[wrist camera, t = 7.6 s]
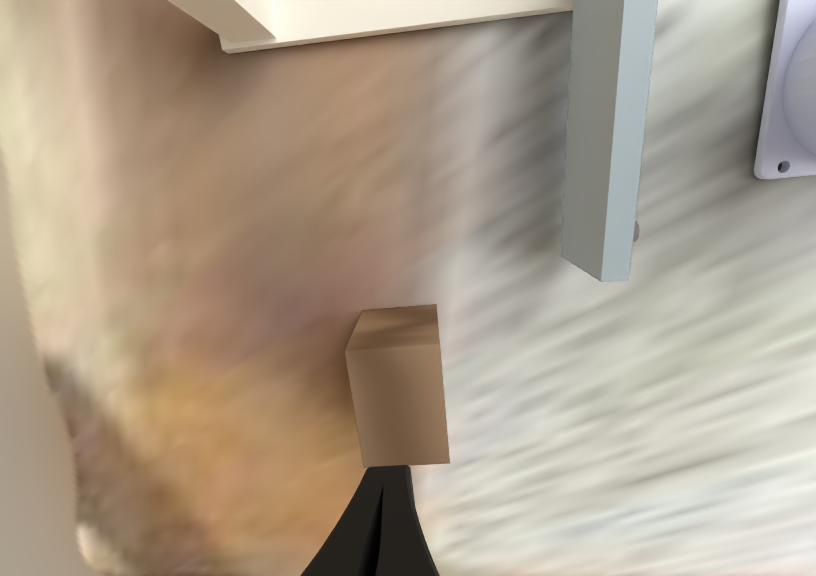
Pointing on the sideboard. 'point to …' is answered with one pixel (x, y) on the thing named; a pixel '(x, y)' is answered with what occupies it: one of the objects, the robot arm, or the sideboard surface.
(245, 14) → the white bracket
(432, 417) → the brown block
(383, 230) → the sideboard surface
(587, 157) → the door
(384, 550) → the robot arm
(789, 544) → the sideboard surface
